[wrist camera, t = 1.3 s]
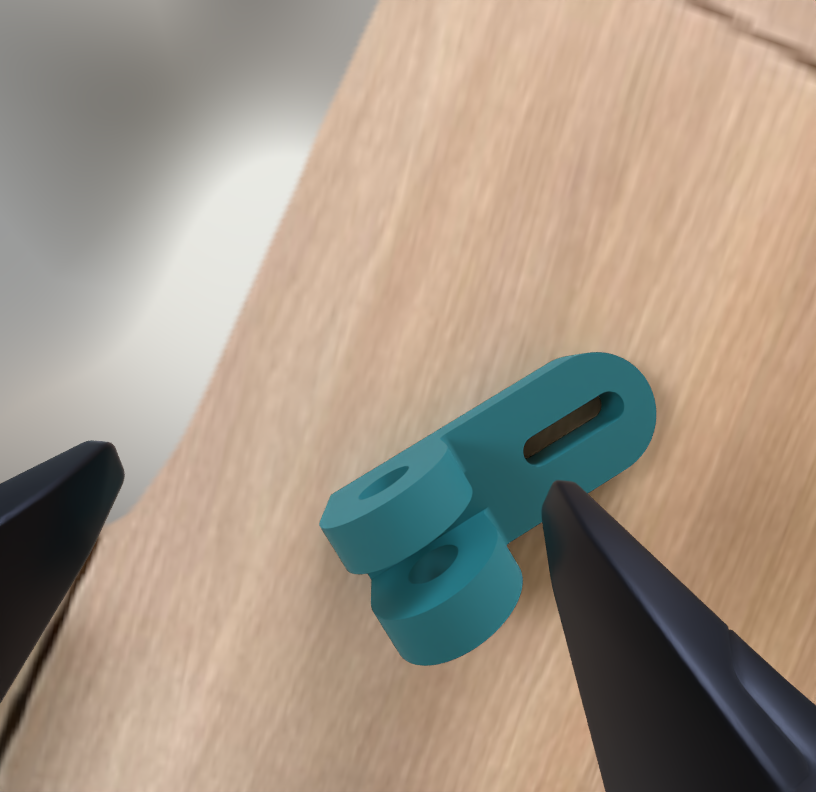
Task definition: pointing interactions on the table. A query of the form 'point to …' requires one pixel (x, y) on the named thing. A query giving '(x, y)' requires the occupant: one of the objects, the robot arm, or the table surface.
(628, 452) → the bracket
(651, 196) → the table surface
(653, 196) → the table surface
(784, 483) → the table surface
